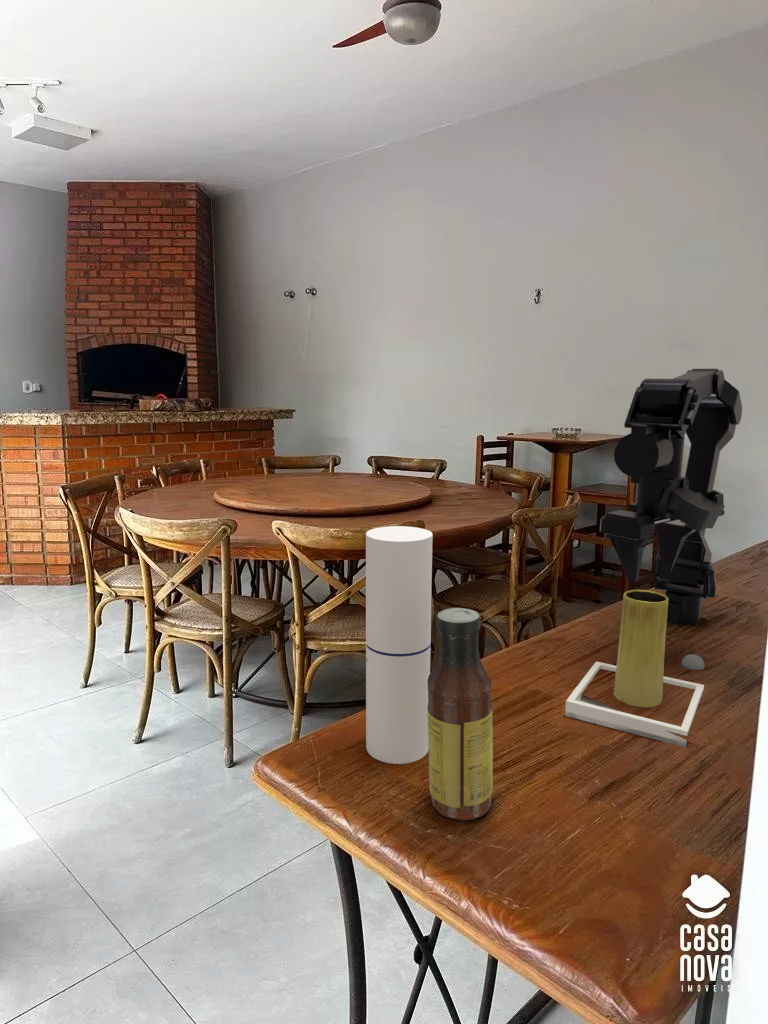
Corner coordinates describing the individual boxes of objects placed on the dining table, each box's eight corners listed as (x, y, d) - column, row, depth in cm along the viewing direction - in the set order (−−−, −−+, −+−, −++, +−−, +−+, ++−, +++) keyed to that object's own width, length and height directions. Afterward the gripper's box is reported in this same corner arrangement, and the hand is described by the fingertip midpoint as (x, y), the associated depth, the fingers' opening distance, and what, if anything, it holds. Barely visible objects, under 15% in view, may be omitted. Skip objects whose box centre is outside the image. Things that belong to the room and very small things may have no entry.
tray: (595, 674, 97) (596, 661, 97) (702, 699, 90) (704, 685, 90) (565, 715, 85) (565, 700, 85) (685, 747, 78) (687, 731, 78)
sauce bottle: (490, 787, 71) (497, 603, 67) (493, 826, 65) (501, 627, 61) (426, 783, 71) (429, 601, 67) (424, 822, 65) (427, 624, 61)
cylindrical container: (384, 770, 74) (385, 544, 69) (355, 739, 80) (354, 530, 75) (440, 753, 77) (445, 537, 72) (409, 725, 83) (411, 523, 78)
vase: (668, 715, 84) (678, 604, 82) (617, 712, 85) (625, 602, 82) (655, 693, 90) (664, 589, 87) (607, 690, 91) (615, 587, 88)
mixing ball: (687, 668, 99) (689, 649, 99) (707, 675, 97) (709, 655, 96) (676, 674, 97) (678, 654, 97) (696, 681, 95) (698, 661, 95)
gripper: (679, 482, 84) (668, 603, 87) (749, 470, 96) (737, 578, 99) (601, 472, 93) (593, 582, 96) (674, 462, 104) (665, 561, 107)
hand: (650, 576), depth 99 cm, fingers open, 9 cm apart
